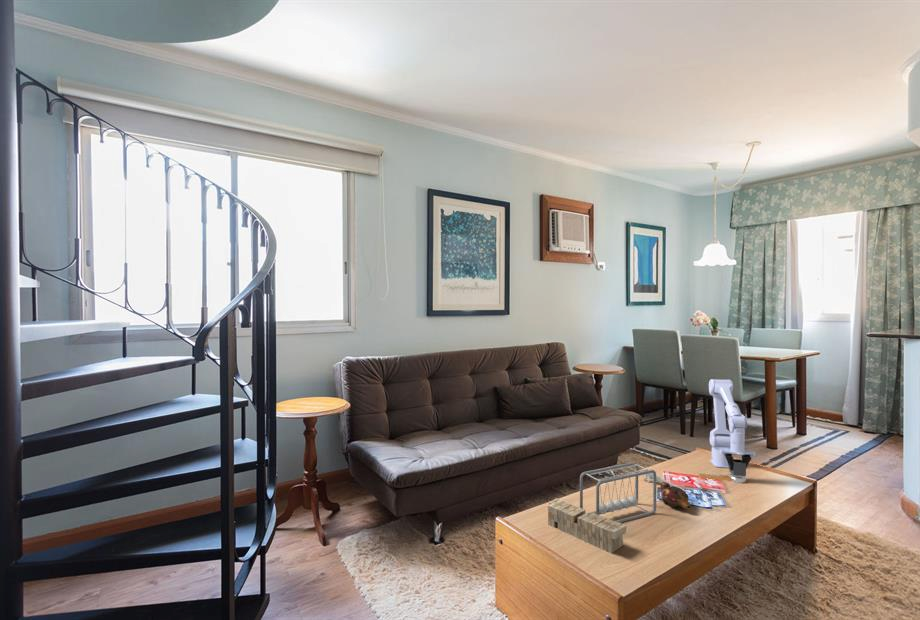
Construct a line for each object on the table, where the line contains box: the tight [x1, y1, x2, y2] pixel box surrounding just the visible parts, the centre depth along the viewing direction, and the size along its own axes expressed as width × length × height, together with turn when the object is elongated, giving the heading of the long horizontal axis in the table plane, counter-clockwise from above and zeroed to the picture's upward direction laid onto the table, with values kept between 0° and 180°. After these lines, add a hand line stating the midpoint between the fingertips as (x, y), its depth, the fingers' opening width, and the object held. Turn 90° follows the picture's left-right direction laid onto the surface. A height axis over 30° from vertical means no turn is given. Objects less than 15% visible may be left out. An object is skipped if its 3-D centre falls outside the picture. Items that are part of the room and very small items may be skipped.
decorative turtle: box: [659, 482, 692, 510], centre depth 183 cm, size 10×15×8 cm, turn 23°
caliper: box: [643, 469, 688, 492], centre depth 201 cm, size 20×1×6 cm, turn 41°
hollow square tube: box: [728, 458, 747, 477], centre depth 209 cm, size 5×5×6 cm
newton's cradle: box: [579, 461, 657, 524], centre depth 175 cm, size 30×10×18 cm, turn 114°
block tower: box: [547, 498, 627, 554], centre depth 161 cm, size 8×8×29 cm
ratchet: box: [697, 473, 747, 484], centre depth 210 cm, size 20×7×5 cm, turn 78°
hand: (737, 470), depth 209 cm, fingers closed on hollow square tube, 5 cm apart
